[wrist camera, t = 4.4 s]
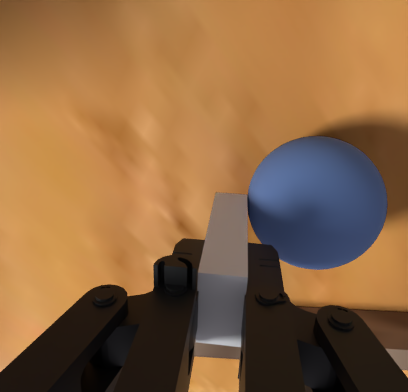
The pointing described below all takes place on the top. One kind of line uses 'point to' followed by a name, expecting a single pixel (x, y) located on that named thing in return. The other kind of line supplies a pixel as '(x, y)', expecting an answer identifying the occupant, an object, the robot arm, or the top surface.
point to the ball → (317, 202)
